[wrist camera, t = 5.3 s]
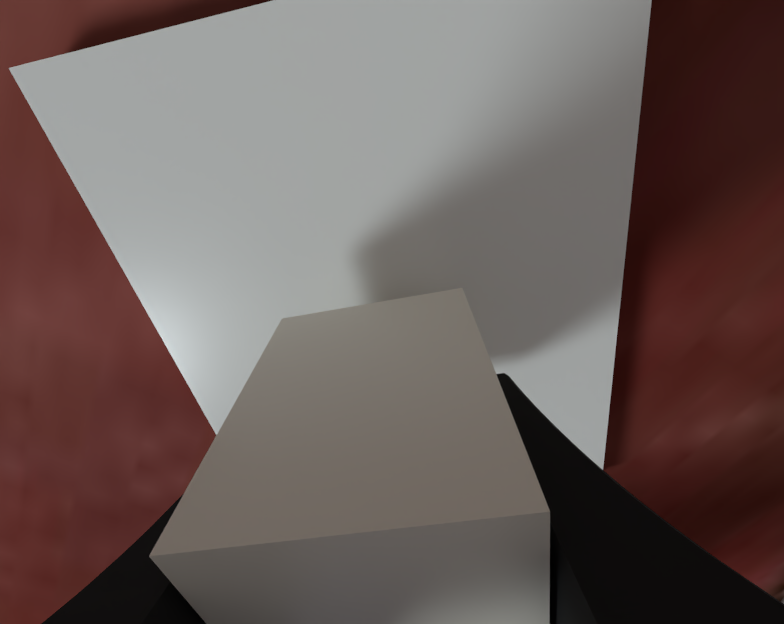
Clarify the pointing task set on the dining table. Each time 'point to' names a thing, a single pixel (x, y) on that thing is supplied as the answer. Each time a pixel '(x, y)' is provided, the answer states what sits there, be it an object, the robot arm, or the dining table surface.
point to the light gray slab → (367, 176)
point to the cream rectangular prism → (366, 481)
